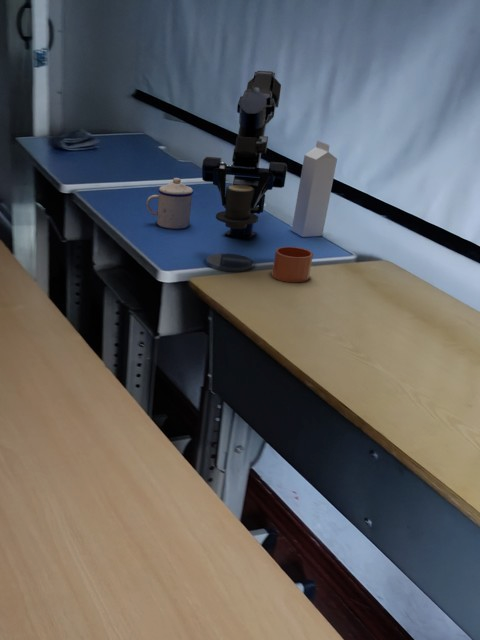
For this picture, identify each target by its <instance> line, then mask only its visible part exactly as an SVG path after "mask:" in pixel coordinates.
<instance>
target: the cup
mask: <svg viewBox="0 0 480 640" xmlns="http://www.w3.org/2000/svg"><path fill="white" fill-rule="evenodd" d="M313 257H314V253H313V251H311V250H310V249H307V248H303V247H298V246H281V247H278V248H276V249H275V252H274V258H273V264H272V269H271V276H272V278H274V279H275V280H278V281H281V282H286V283H302V282H306V281H308V280H309V278H310V274H311V268H312V263H313Z"/></svg>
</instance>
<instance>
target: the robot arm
mask: <svg viewBox="0 0 480 640" xmlns="http://www.w3.org/2000/svg"><path fill="white" fill-rule="evenodd" d="M253 73H254V74H253V77H252V78H251V79H250V80H249V81H248V82H247V85H246V89H245V90H244V92H243V96H242V95H241V96H240V97H239V100H238V103H237V107H236V113H237V114H239V117H238V123H239V128H238V134H237V137H236V139H235V145H234V148H233V153H232V159H231V161H232V164H227V163H226V162H222V157H215V156H214V157H213V156H206V157H204V159H203V160H202V165H201V172H202V173H201V179H202V181H203V182H205V183H206V182H207V183H208V182H209V183H212V185H214V186H216V187H217V190H218V192H219V195H220V200H221V201H220V202H221V205H222V207H224V204H225V195H226V188H227V186H226V185H227V180H226V179H227V176H233V181H232V184H231V185H246V186H250V187H253V188H254V189H255V195H254V199H253V205H252V210H250V213H252V214H255V215H256V214H258V215H260V214H261V213H264V208H265V201H266V193H267V192H268V191H271V190H273V189H274V188H277V189H282V188H284V187H285V183H286V178H287V172H288V165H287V163H286V162H278V161H269V164H268V168H265V167H260V163H261V156H262V154H266V153H267V148H268V141H269V136H267V135H265V133H266V128H267V125H268V123H269V122H271V121H272V119H274V117H275V112H276V108H279V105H280V98H281V89H282V84H281V83H280V82H279V81H278V79H276V73H275V72H273V71H270V70H268V71H267V70H257V71H254V72H253ZM231 185H229V186H231ZM253 229H254V223H253V224H247V226H246V228H243V229H233V228H229V230H228V231H227V232H224V236H226V237H231V238H237V239H243V240H249V239H251V238H253V237H254V236H256V235H257V232H256V231H254V230H253Z"/></svg>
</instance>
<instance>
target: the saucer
mask: <svg viewBox="0 0 480 640" xmlns="http://www.w3.org/2000/svg"><path fill="white" fill-rule="evenodd" d="M205 264H206V266H208V267H210V268H212V269H214V270H215V269H216V270H217V271H223V272H245V271H248V270H251V269H252V268H253V267H254V261H253V259H251V258H250V257H248V256H245V255H241V254H236V253H215V254H211V255H209V256H207V257H206V259H205Z"/></svg>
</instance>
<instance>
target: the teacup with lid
mask: <svg viewBox="0 0 480 640" xmlns="http://www.w3.org/2000/svg"><path fill="white" fill-rule="evenodd" d="M181 181H182V179H181V178H179V177H174V178H173V179H172V181H170V182H168V183H166V184H164V185H161V186H160V187H159V188H158V194H153V195H150V196H148V198H147V199H146V208H147V209H146V210H147V211H148V212H149V213H150V214H151V215H154V216H157V217H156V224H157V225H158V226H159V227H161V228H164V229H172V230H179V229H185V228H188V227H189V226H190V219H191V211H192V200H193V194H194V190H193V188H192V187H190V186H188V185H187V184H185V183H184V182H181ZM153 199H158V204H157V211H154V210H153V209H152V208H151V207H150V202H151V200H153Z"/></svg>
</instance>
